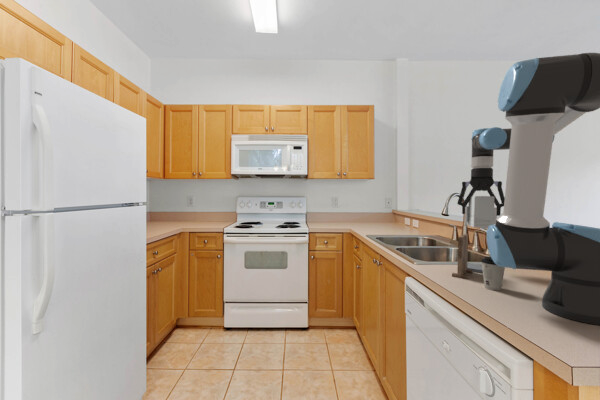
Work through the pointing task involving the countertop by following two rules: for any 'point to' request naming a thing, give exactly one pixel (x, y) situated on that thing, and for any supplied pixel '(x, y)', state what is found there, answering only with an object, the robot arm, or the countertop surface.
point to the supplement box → (481, 211)
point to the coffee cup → (492, 274)
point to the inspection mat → (475, 267)
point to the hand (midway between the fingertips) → (480, 222)
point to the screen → (462, 257)
